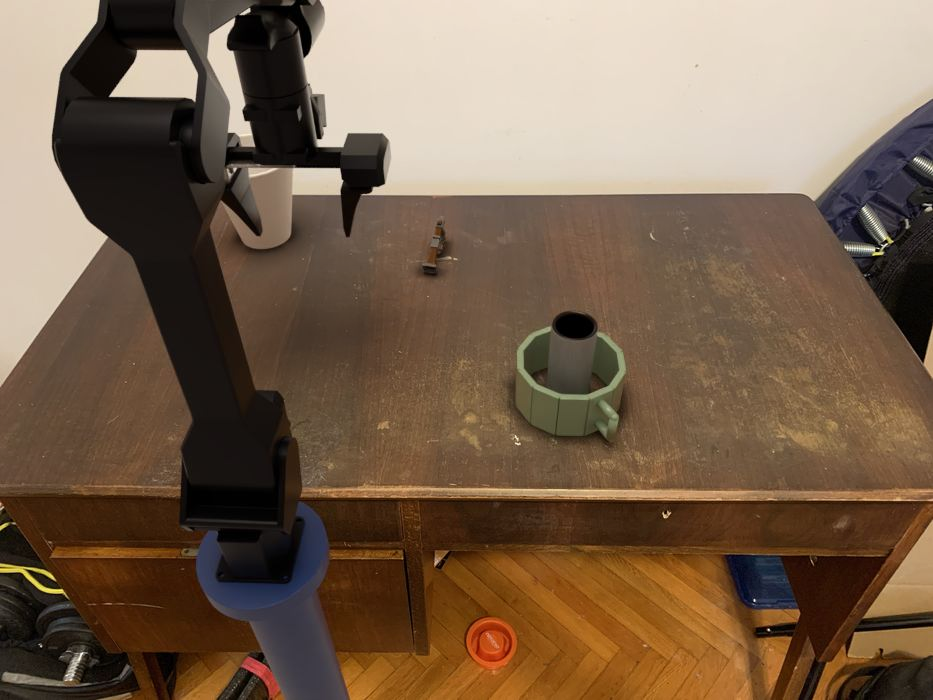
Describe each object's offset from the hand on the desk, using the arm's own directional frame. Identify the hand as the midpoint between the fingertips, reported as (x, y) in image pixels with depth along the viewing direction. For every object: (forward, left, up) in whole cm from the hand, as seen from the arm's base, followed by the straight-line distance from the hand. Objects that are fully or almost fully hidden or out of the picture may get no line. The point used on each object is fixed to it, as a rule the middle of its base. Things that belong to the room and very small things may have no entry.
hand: (304, 234), depth 74 cm
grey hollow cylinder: (-8, -28, -15) cm, 33 cm away
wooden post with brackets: (+17, -12, -15) cm, 26 cm away
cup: (+22, +12, -15) cm, 30 cm away
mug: (-9, -28, -15) cm, 33 cm away
